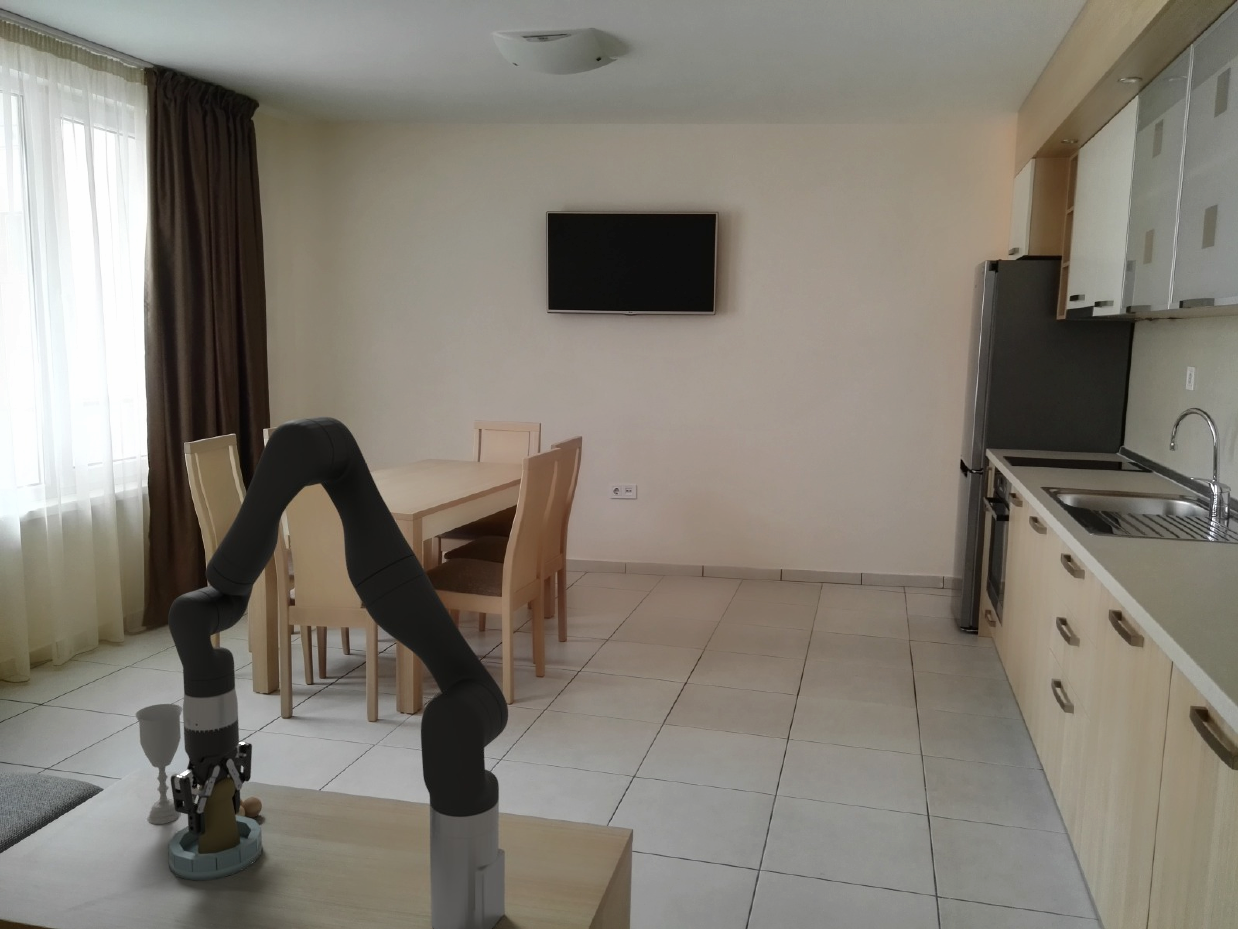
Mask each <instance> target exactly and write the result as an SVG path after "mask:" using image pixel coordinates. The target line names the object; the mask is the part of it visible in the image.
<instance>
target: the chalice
mask: <svg viewBox="0 0 1238 929" xmlns="http://www.w3.org/2000/svg"><path fill="white" fill-rule="evenodd" d="M182 713H183V706H180V705H178V704H173V703H160V704H154V705H149V706H145V707H143V708H141V709H139V710H138V711H136V713H135V718H136V719H137V721H138V726H139V743H140V746H141V748H142V750H143V753H144V755H145V756H146V758H147V759H148V761H149V762H150V764H151V766H152V767H154V768H158V776H157V778H156V780H158V782H159V786H158V787H157V791H158V792H159V794H160V795H159V796H160V797H159V799H157V801H156V802H154V803H153V804H152V806H151V808H150V809H151V810H150V811H149V815H148V816H147V818H146V820H147V822H148V821H149V822H148V823H149V824H153V825H154V824H155V825H160V824H162V825H163V824H167V823H170V822H173V821H176V820H178V819H179V818H180V817H181V815H182V813H180V812H176V811H175V807H174V800H173V799H171V798H168V796H167V791H168V789H170V786H168V785H167V783H166V782H167V779H168V775H167V774H166V773H167V772H166V767H168V766H170V765H171V763H172V762H173V760H174V757H175V755H176V753H177V750H178V748H179V745H180V741H181V739H182V738H181V736H182V735H181V718H180V716H181V714H182Z"/></svg>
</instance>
